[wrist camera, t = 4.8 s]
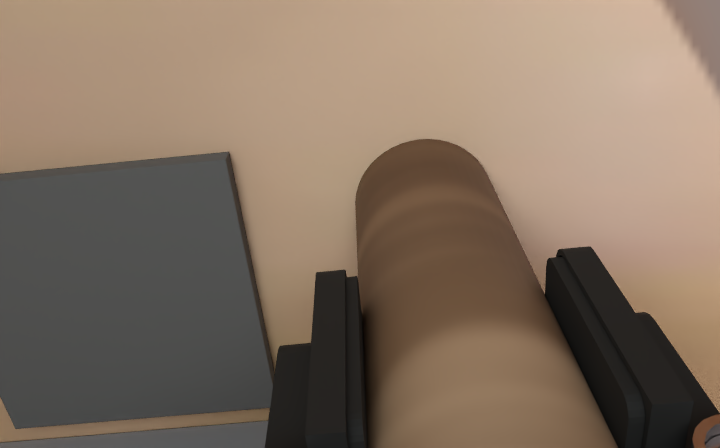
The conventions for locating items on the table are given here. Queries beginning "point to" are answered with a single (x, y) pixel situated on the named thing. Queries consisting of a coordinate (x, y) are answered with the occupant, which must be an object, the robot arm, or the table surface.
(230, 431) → the box
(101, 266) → the pad
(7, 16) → the table surface
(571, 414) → the brown cylinder
